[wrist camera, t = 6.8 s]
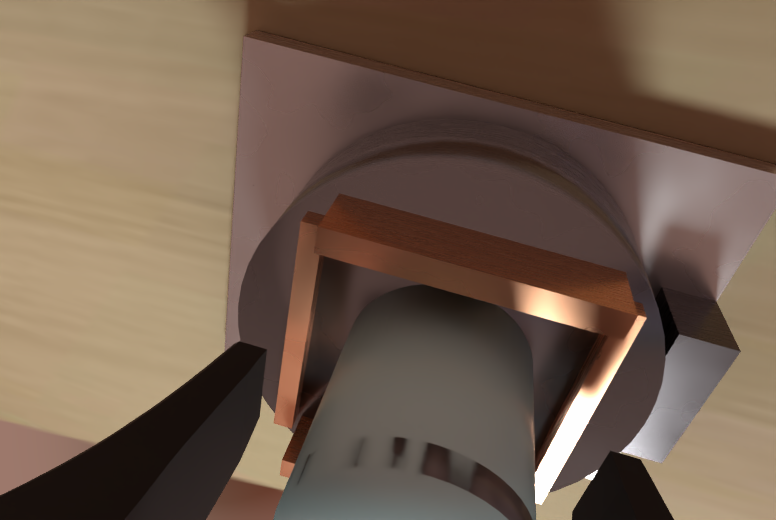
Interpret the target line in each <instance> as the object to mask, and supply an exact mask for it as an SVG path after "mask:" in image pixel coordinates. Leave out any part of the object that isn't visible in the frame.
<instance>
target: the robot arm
mask: <svg viewBox="0 0 776 520" xmlns="http://www.w3.org/2000/svg"><path fill="white" fill-rule="evenodd" d="M266 354H267V349H264V348H261V347H258V346H254V345H251V344H247V343H244V342H241V341H239V342H237V343H234V344H233V345H232V346H231V347H230V348H228V349H227V350H226V351H225V352H224V353H222V354H221V355H220V356H219V357H218V358H216V359H215V360H214V361H213V362H212V363H210V364H209V365H208V366H207V367H205V368H204V369H203V370H202V371H200V372H199V373H198V374H197V375H195V376H194V377H193V378H192V379H190V380H189V381H188V382H186V383H185V384H184V385H182V386H181V387H180V388H178V389H177V390H176V391H174V392H173V393H172V394H170V395H169V396H168V397H166V398H165V399H164V400H162V401H161V402H159V403H158V404H157V405H155V406H154V407H152V408H151V409H150V410H148V411H147V412H145V413H144V414H142V415H141V416H139V417H138V418H136V419H135V420H133V421H132V422H130V423H129V424H127V425H126V426H124V427H123V428H121V429H120V430H118V431H117V432H115V433H114V434H112V435H110V436H109V437H107V438H106V439H104V440H102V441H101V442H99V443H97V444H96V445H94V446H92V447H91V448H89V449H88V450H86V451H84V452H82V453H80V454H79V455H77V456H75V457H74V458H72V459H70V460H68V461H66V462H65V463H63V464H61V465H59V466H57V467H55V468H54V469H52V470H50V471H48V472H46V473H44V474H42V475H40V476H38V477H36V478H35V479H32V480H31V481H29V482H27V483H25V484H23V485H21V486H19V487H17V488H15V489H13V490H11V491H9V492H7V493H5V494H2V495H0V520H206V518H207V517H208V515H209V513H210V511H211V510H212V508H213V506H214V505H215V503H216V501H217V499H218V498H219V496H220V495H221V493H222V491H223V489H224V488H225V486H226V484H227V482H228V481H229V479H230V477H231V476H232V474H233V472H234V470H235V469H236V467H237V465H238V463H239V462H240V460H241V457H242V455H243V453H244V451H245V449H246V446H247V444H248V442H249V440H250V437H251V435H252V433H253V430H254V428H255V426H256V424H257V421H258V419H259V417H260V408H261V399H262V390H263V381H264V372H265V363H266ZM572 520H674V519H673V517H672V515H671V513H670V512H669V510H668V508H667V506H666V504H665V503H664V501H663V499H662V497H661V495H660V494H659V492H658V490H657V488H656V486H655V484H654V483H653V481H652V479H651V477H650V475H649V474H648V472H647V470H646V468H645V466H644V465H643V463H642V461H641V460H640V459H637V458H634V457H630V456H627V455H623V454H620V453H617V452H613V451H610V452H609V453H608V455H607V457H606V458H605V460H604V461H603V463H602V465H601V466H600V468H599V469H598V471H597V473H596V474H595V476H594V478H593V479H592V481H591V482H590V484H589V486H588V487H587V489H586V490H585V492H584V494H583V495H582V497H581V499H580V500H579V502H578V503H577V505H576V507H575V508H574V510H573V511H572Z"/></svg>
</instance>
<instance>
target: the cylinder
mask: <svg viewBox="0 0 776 520" xmlns="http://www.w3.org/2000/svg"><path fill="white" fill-rule="evenodd" d="M273 520H536V490H535V438H534V385H533V358H532V352H531V348H530V346H529V343H528V340H527V338H526V336H525V335H524V333H523V331H522V330H521V328H520V327H519V325H518V324H517V323H516V321H515V320H514V319H513V318H512V317H511V316H510V315H509V314H508V313H507V312H505V311H504V310H503V309H502V308H500V307H499V306H498V305H495V304H492V303H488V302H485V301H481V300H478V299H474V298H471V297H467V296H464V295H460V294H456V293H453V292H449V291H446V290H442V289H439V288H435V287H432V286H428V285H425V284H420V285H411V286H406V287H402V288H398V289H395V290H393V291H390V292H387V293H385V294H384V295H382V296H380V297H378V298H376V299H375V300H374V301H372V302H371V303H370V304H368V305H367V306H366V307H365V308H364V309H363V310H362V311H361V313H360V314H359V315H358V317H357V318H356V320H355V322H354V324H353V326H352V328H351V330H350V333H349V335H348V337H347V340H346V342H345V345H344V347H343V350H342V352H341V354H340V357H339V359H338V362H337V364H336V366H335V369H334V371H333V374H332V376H331V378H330V381H329V383H328V386H327V388H326V391H325V393H324V395H323V398H322V400H321V403H320V405H319V407H318V410H317V412H316V415H315V417H314V419H313V422H312V424H311V427H310V429H309V432H308V434H307V436H306V439H305V441H304V444H303V446H302V448H301V451H300V453H299V456H298V458H297V460H296V463H295V465H294V468H293V470H292V473H291V475H290V477H289V480H288V482H287V485H286V487H285V489H284V492H283V494H282V497H281V499H280V501H279V504H278V506H277V509H276V512H275V516H274V519H273Z"/></svg>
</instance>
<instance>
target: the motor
mask: <svg viewBox="0 0 776 520" xmlns="http://www.w3.org/2000/svg"><path fill="white" fill-rule="evenodd" d="M775 209H776V164H772V163H768V162H764V161H760V160H756V159H753V158H749V157H745V156H741V155H737V154H733V153H729V152H726V151H722V150H718V149H714V148H710V147H706V146H702V145H698V144H695V143H691V142H687V141H683V140H679V139H675V138H671V137H667V136H664V135H660V134H656V133H652V132H648V131H644V130H640V129H637V128H633V127H629V126H625V125H621V124H617V123H613V122H609V121H606V120H602V119H598V118H594V117H590V116H586V115H582V114H579V113H575V112H571V111H567V110H563V109H559V108H555V107H551V106H548V105H544V104H540V103H536V102H532V101H528V100H524V99H520V98H517V97H513V96H509V95H505V94H501V93H497V92H493V91H490V90H486V89H482V88H478V87H474V86H470V85H466V84H462V83H459V82H455V81H451V80H447V79H443V78H439V77H435V76H431V75H428V74H424V73H420V72H416V71H412V70H408V69H404V68H401V67H397V66H393V65H389V64H385V63H381V62H377V61H373V60H370V59H366V58H362V57H358V56H354V55H350V54H346V53H343V52H339V51H335V50H331V49H327V48H323V47H319V46H315V45H312V44H308V43H304V42H300V41H296V40H292V39H288V38H284V37H281V36H277V35H273V34H269V33H265V32H261V31H257V30H256V31H254V32H252V33H250V34H247V35H245V36H244V39H243V55H242V72H241V89H240V105H239V122H238V138H237V155H236V172H235V188H234V205H233V222H232V238H231V255H230V272H229V288H228V305H227V322H226V338H225V351H226V350H227V349H228V348H230V347H231V346H232V345H233V344H234V343H237V342H239V341H241V342H244V343H247V344H251V345H254V346H258V347H261V348H264V349H267V354H266V363H265V372H264V381H263V390H262V396H263V397H264V399H265V401H266V402H267V404H268V405H269V406H270V408H271V409H272V410H273V411H274V413H275V418H274V423H275V424H278V425H281V426H285V427H288V428H289V429H290V430H291V431H292V432H293V433H294V434H293V437H292V439H291V441H290V443H289V446H288V448H287V450H286V452H285V455H284V457H283V459H282V464H281V471H280V475H281V476H285V477H288V478H289V477H290V475H291V473H292V470H293V468H294V465H295V463H296V460H297V458H298V456H299V453H300V451H301V448H302V446H303V444H304V441H305V439H306V436H307V434H308V432H309V429H310V427H311V424H312V422H313V419H314V417H315V415H316V412H317V410H318V407H319V405H320V403H321V400H322V398H323V395H324V393H325V391H326V388H327V386H328V383H329V381H330V378H331V376H332V374H333V371H334V369H335V366H336V364H337V362H338V359H339V357H340V354H341V352H342V350H343V347H344V345H345V342H346V340H347V337H348V335H349V333H350V330H351V328H352V326H353V324H354V322H355V320H356V318H357V317H358V315H359V314H360V313H361V311H362V310H363V309H364V308H365V307H366V306H367V305H368V304H370V303H371V302H372V301H374V300H375V299H376V298H378V297H380V296H382V295H384V294H385V293H387V292H390V291H393V290H395V289H398V288H402V287H406V286H411V285H420V284H425V285H428V286H432V287H435V288H439V289H442V290H446V291H449V292H453V293H456V294H460V295H464V296H467V297H471V298H474V299H478V300H481V301H485V302H488V303H492V304H495V305H498V306H499V307H500V308H502V309H503V310H504V311H505V312H507V313H508V314H509V315H510V316H511V317H512V318H513V319H514V320H515V321H516V323H517V324H518V325H519V327H520V328H521V330H522V331H523V333H524V335H525V336H526V338H527V340H528V343H529V346H530V348H531V352H532V358H533V385H534V438H535V490H536V503H539V504H542V502H543V501H544V499H545V497H546V495H547V494H548V493H550V492H553V491H556V490H559V489H561V488H564V487H566V486H568V485H571V484H573V483H576V482H578V481H580V480H581V479H583V478H588V479H591V480H592V479H593V478H594V476H595V474H596V473H597V471H598V469H599V468H600V466H601V465H602V463H603V461H604V460H605V458H606V457H607V455H608V453H609V452H610V451H613V452H617V453H620V452H621V451H622V452H625V453H628V454H632V455H635V456H639V457H642V458H645V459H649V460H652V461H656V462H659V463H662V462H663V461H664V459H665V458H666V457H667V455H668V454H669V452H670V451H671V450H672V448H673V447H674V445H675V444H676V442H677V441H678V440H679V438H680V437H681V435H682V434H683V433H684V431H685V430H686V428H687V427H688V425H689V424H690V423H691V421H692V420H693V418H694V417H695V416H696V414H697V413H698V411H699V410H700V408H701V407H702V406H703V404H704V403H705V401H706V400H707V399H708V397H709V396H710V394H711V393H712V391H713V390H714V389H715V387H716V386H717V384H718V383H719V382H720V380H721V379H722V377H723V376H724V374H725V373H726V372H727V370H728V369H729V367H730V366H731V365H732V363H733V362H734V360H735V359H736V357H737V356H738V355H739V353H740V352H741V351H740V349H739V347H738V345H737V343H736V341H735V339H734V337H733V335H732V333H731V331H730V329H729V327H728V325H727V323H726V321H725V318H724V316H723V314H722V312H721V310H720V308H719V306H718V304H717V302H716V301H717V300H718V298H719V297H720V295H721V294H722V292H723V290H724V289H725V287H726V286H727V284H728V283H729V281H730V279H731V278H732V276H733V275H734V273H735V272H736V270H737V268H738V267H739V265H740V264H741V262H742V261H743V259H744V257H745V256H746V254H747V253H748V251H749V250H750V248H751V246H752V245H753V243H754V242H755V240H756V239H757V237H758V235H759V234H760V232H761V231H762V229H763V228H764V226H765V224H766V223H767V221H768V220H769V218H770V217H771V215H772V213H773V212H774V210H775Z"/></svg>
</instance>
